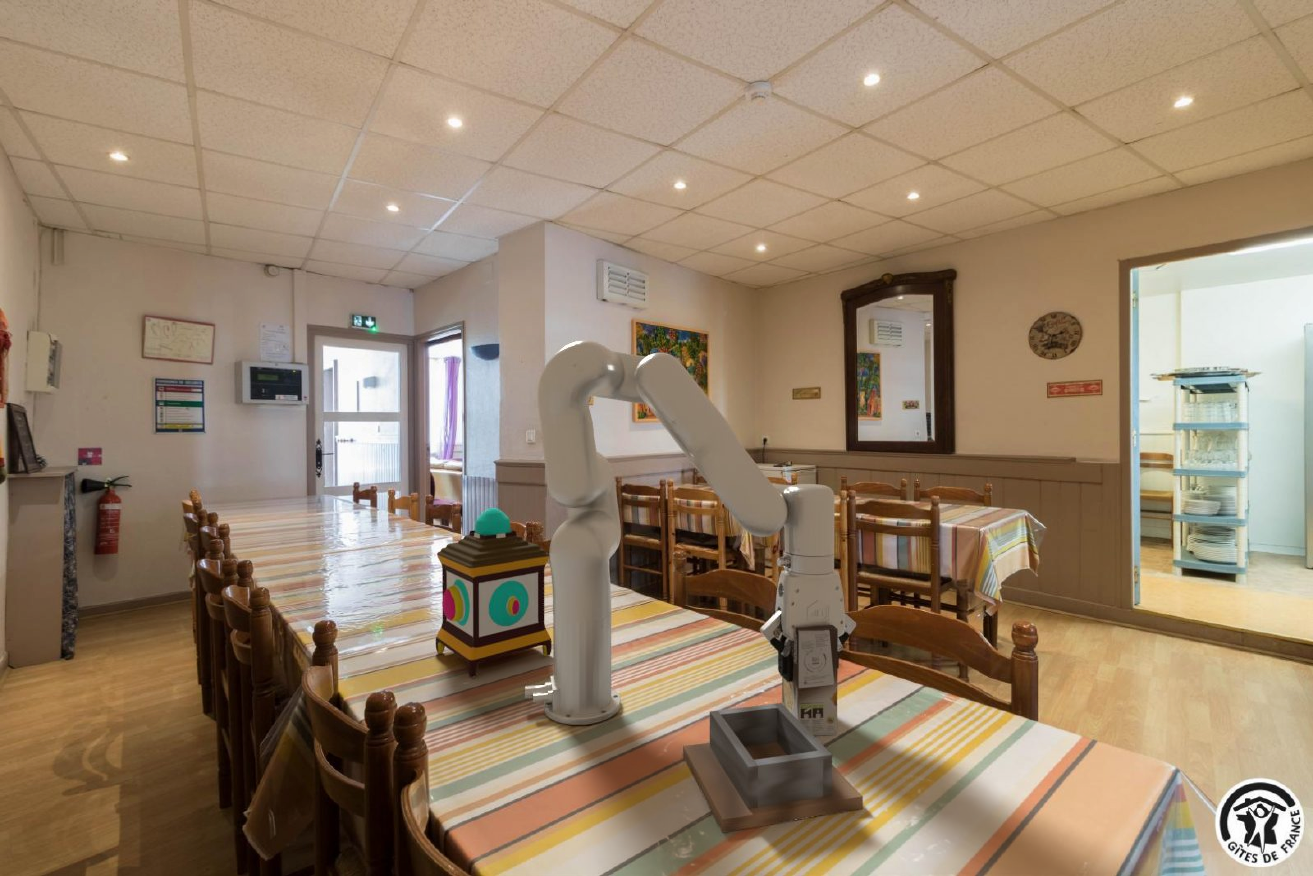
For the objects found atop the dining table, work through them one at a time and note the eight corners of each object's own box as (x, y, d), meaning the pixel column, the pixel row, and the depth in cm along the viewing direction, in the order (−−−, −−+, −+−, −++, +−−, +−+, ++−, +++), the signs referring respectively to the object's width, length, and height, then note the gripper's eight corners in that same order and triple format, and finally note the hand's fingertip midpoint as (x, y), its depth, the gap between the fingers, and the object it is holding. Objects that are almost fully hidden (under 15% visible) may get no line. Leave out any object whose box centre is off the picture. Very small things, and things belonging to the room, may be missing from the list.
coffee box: (839, 735, 89) (840, 629, 88) (797, 737, 88) (798, 630, 88) (817, 706, 98) (818, 610, 98) (779, 708, 97) (780, 611, 97)
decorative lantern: (466, 684, 106) (465, 518, 105) (425, 653, 121) (425, 507, 120) (561, 656, 119) (561, 508, 119) (514, 631, 134) (514, 499, 134)
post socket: (722, 832, 67) (722, 776, 67) (683, 756, 83) (683, 710, 83) (862, 808, 72) (863, 755, 71) (800, 740, 87) (800, 697, 87)
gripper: (767, 572, 87) (767, 692, 87) (872, 565, 91) (871, 680, 91) (748, 561, 94) (747, 671, 94) (845, 555, 98) (844, 661, 99)
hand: (808, 675), depth 93 cm, fingers closed on coffee box, 7 cm apart
